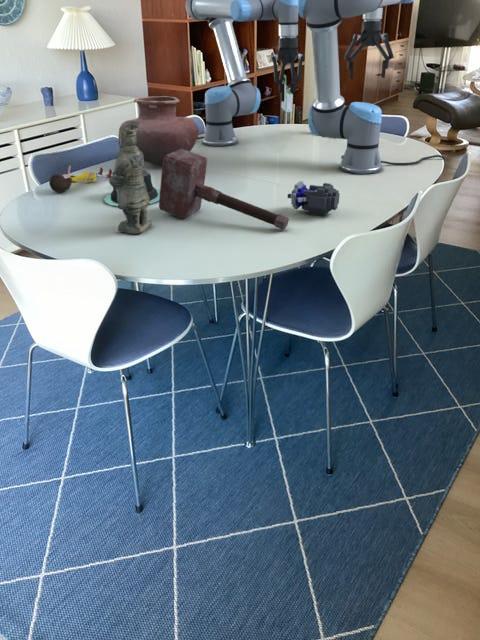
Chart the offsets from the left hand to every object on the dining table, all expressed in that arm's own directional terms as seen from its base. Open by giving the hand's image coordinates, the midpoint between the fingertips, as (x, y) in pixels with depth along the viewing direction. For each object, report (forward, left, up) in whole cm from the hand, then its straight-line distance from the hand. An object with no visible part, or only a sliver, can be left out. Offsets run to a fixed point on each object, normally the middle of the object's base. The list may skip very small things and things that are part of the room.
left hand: (287, 100), depth 229 cm
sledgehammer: (+36, -81, -20) cm, 91 cm away
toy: (+53, -59, -20) cm, 82 cm away
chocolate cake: (-3, -82, -20) cm, 85 cm away
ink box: (0, 0, -4) cm, 4 cm away
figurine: (-29, -85, -20) cm, 92 cm away
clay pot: (-27, -47, -20) cm, 58 cm away
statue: (+20, -102, -20) cm, 106 cm away
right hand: (+21, +27, +7) cm, 35 cm away
